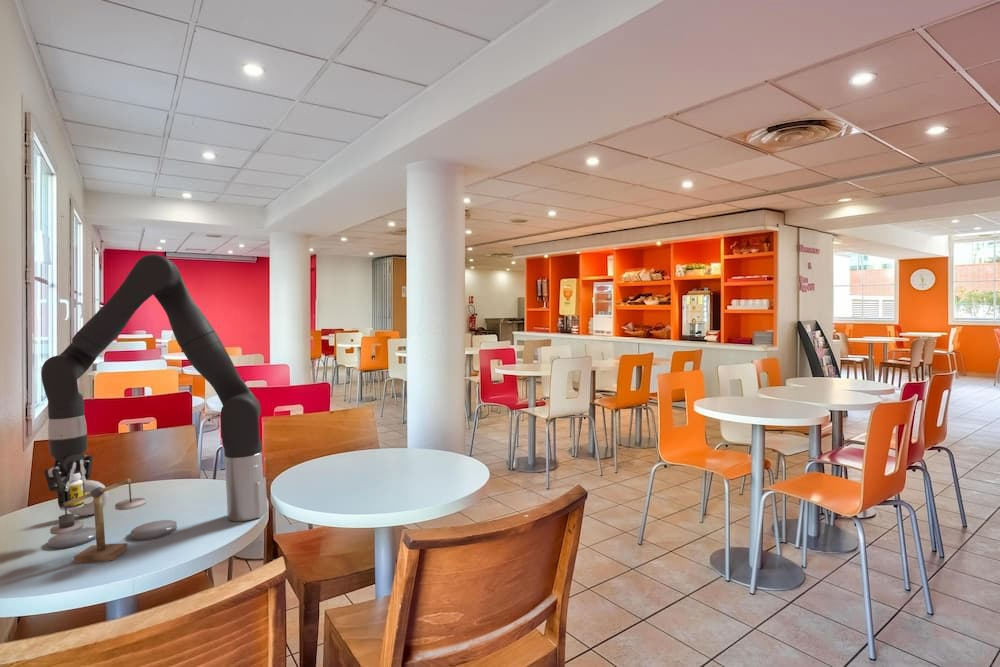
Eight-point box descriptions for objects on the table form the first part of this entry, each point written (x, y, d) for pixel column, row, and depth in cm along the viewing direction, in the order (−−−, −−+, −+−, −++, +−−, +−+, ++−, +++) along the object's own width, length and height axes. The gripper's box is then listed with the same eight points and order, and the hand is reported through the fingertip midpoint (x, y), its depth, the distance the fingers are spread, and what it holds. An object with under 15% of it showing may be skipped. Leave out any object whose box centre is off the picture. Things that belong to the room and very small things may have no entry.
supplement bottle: (57, 512, 133) (55, 478, 133) (62, 506, 137) (60, 473, 137) (82, 508, 135) (79, 475, 135) (85, 502, 139) (84, 470, 139)
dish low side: (108, 530, 142) (107, 526, 142) (82, 547, 132) (81, 542, 132) (67, 533, 141) (66, 528, 141) (38, 550, 131) (37, 545, 131)
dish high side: (184, 523, 146) (183, 518, 145) (164, 538, 136) (164, 534, 136) (144, 525, 145) (144, 521, 145) (122, 541, 135) (121, 536, 135)
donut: (64, 521, 150) (62, 485, 149) (66, 517, 153) (64, 482, 152) (108, 513, 155) (106, 478, 154) (110, 510, 158) (108, 475, 157)
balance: (154, 547, 131) (149, 474, 130) (140, 558, 125) (135, 482, 124) (64, 553, 129) (59, 479, 128) (45, 565, 123) (40, 487, 122)
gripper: (63, 440, 129) (68, 511, 129) (102, 428, 143) (106, 492, 144) (29, 442, 128) (34, 513, 129) (71, 429, 142) (75, 493, 143)
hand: (72, 502), depth 136 cm, fingers closed on supplement bottle, 4 cm apart
